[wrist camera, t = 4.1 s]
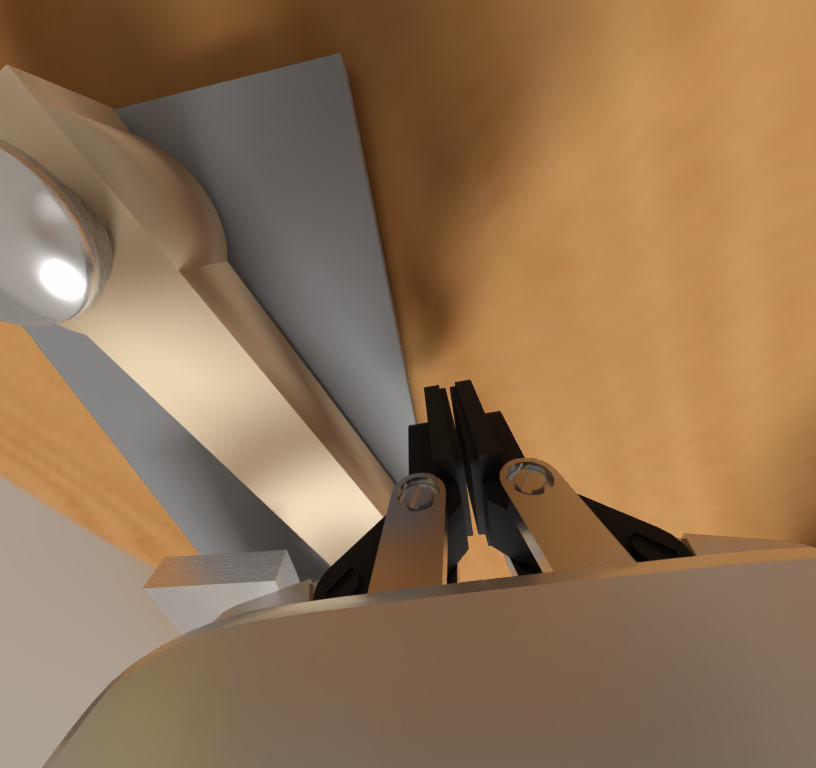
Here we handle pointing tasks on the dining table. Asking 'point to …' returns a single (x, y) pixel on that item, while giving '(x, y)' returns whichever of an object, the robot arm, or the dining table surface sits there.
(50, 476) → the dining table surface
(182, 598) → the block
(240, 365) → the arm link
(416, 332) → the dining table surface
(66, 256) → the pin cap
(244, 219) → the base board
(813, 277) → the dining table surface
